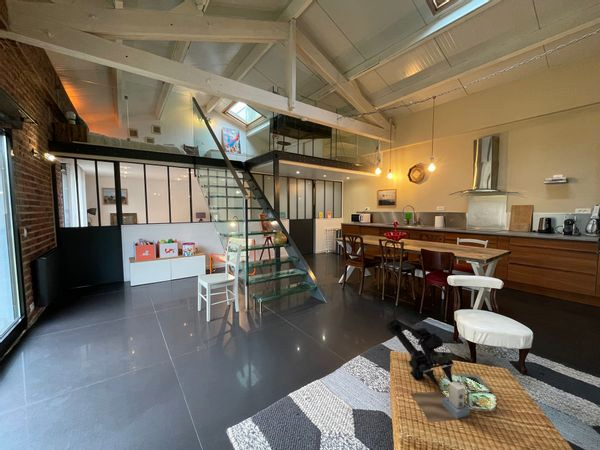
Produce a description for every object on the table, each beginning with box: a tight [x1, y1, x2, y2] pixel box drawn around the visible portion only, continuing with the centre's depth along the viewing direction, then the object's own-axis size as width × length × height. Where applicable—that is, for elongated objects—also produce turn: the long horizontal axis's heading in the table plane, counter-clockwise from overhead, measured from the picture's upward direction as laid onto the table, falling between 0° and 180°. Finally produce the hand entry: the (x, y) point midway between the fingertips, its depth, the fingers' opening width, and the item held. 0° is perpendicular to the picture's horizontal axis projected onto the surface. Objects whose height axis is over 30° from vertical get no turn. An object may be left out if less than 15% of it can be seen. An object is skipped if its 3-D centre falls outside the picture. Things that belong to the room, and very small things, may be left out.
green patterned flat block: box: [458, 372, 491, 391], centre depth 135 cm, size 13×10×2 cm
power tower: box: [448, 381, 466, 410], centre depth 117 cm, size 5×4×12 cm
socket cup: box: [443, 397, 471, 419], centre depth 117 cm, size 8×8×4 cm
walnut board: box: [409, 390, 474, 423], centre depth 120 cm, size 17×22×1 cm
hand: (444, 384), depth 123 cm, fingers open, 9 cm apart
